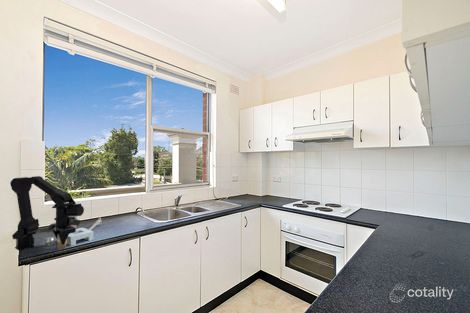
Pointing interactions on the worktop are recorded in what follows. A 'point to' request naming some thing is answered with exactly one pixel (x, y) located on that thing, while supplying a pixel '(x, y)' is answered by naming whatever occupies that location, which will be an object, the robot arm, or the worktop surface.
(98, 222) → the caliper
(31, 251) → the worktop surface
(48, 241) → the aluminium pin
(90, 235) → the bridge jig
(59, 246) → the maple pin
